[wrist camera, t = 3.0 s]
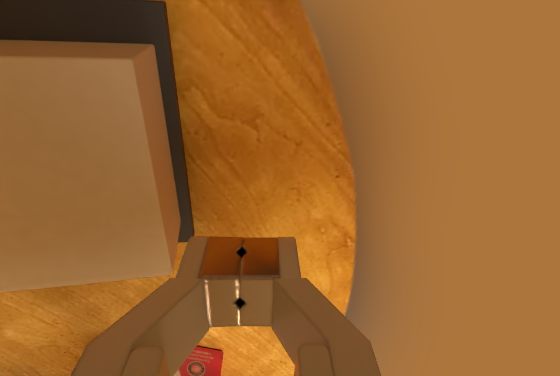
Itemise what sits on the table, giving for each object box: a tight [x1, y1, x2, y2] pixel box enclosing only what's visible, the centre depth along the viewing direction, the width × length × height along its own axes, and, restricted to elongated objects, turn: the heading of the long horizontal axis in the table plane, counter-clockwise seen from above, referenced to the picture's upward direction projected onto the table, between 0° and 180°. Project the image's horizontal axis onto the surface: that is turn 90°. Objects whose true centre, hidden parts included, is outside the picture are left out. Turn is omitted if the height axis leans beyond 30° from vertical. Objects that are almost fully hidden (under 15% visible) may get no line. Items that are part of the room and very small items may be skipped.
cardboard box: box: [0, 40, 181, 293], centre depth 12 cm, size 9×7×4 cm
